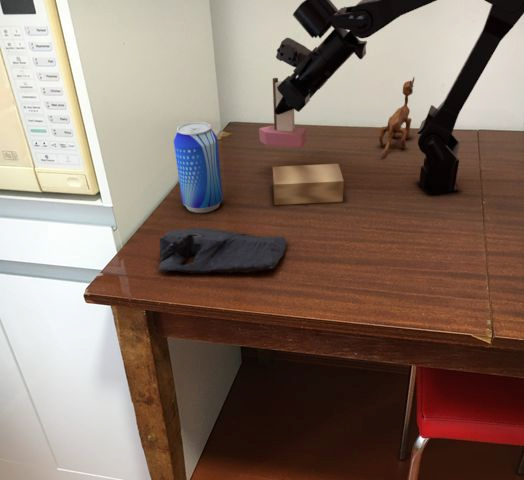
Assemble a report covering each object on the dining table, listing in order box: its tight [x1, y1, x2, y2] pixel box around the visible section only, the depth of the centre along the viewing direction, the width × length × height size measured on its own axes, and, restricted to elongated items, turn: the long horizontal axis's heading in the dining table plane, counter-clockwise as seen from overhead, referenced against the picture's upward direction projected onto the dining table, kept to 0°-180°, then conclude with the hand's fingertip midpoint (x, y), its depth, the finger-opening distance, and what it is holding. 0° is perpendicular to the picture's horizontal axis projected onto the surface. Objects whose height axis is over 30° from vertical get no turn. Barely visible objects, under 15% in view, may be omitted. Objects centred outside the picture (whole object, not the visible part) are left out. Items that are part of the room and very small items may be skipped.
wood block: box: [272, 163, 345, 206], centre depth 124 cm, size 14×9×4 cm, turn 91°
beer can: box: [173, 121, 224, 214], centre depth 119 cm, size 8×8×16 cm
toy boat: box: [258, 77, 308, 149], centre depth 126 cm, size 10×4×13 cm, turn 71°
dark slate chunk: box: [157, 227, 288, 274], centre depth 105 cm, size 15×22×5 cm
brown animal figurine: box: [378, 76, 415, 156], centre depth 140 cm, size 18×7×14 cm, turn 153°
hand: (277, 111), depth 127 cm, fingers closed on toy boat
